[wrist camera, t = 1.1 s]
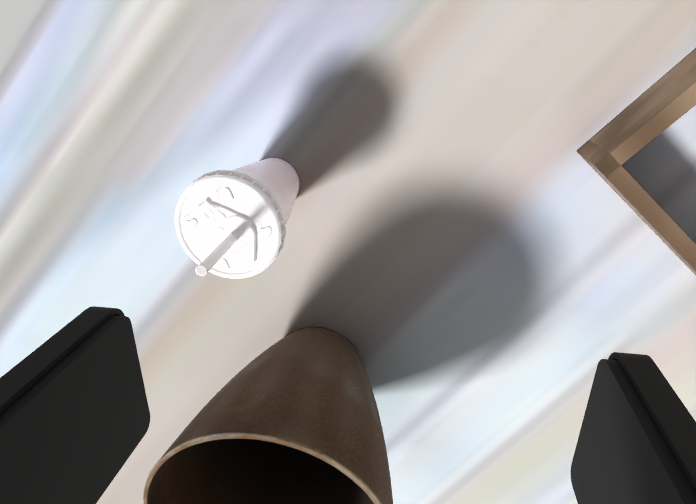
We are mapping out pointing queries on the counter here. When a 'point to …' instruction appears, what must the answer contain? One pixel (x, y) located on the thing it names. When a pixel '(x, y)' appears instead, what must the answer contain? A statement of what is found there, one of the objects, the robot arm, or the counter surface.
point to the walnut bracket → (636, 132)
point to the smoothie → (237, 217)
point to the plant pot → (283, 433)
